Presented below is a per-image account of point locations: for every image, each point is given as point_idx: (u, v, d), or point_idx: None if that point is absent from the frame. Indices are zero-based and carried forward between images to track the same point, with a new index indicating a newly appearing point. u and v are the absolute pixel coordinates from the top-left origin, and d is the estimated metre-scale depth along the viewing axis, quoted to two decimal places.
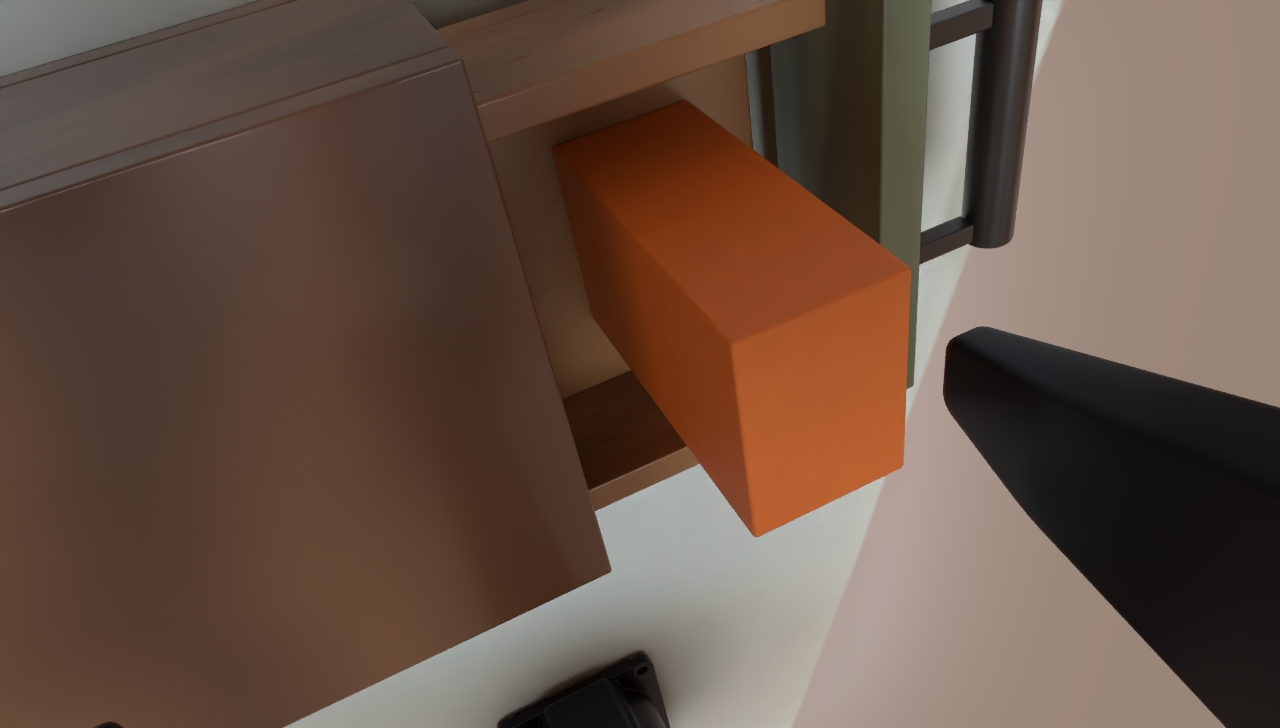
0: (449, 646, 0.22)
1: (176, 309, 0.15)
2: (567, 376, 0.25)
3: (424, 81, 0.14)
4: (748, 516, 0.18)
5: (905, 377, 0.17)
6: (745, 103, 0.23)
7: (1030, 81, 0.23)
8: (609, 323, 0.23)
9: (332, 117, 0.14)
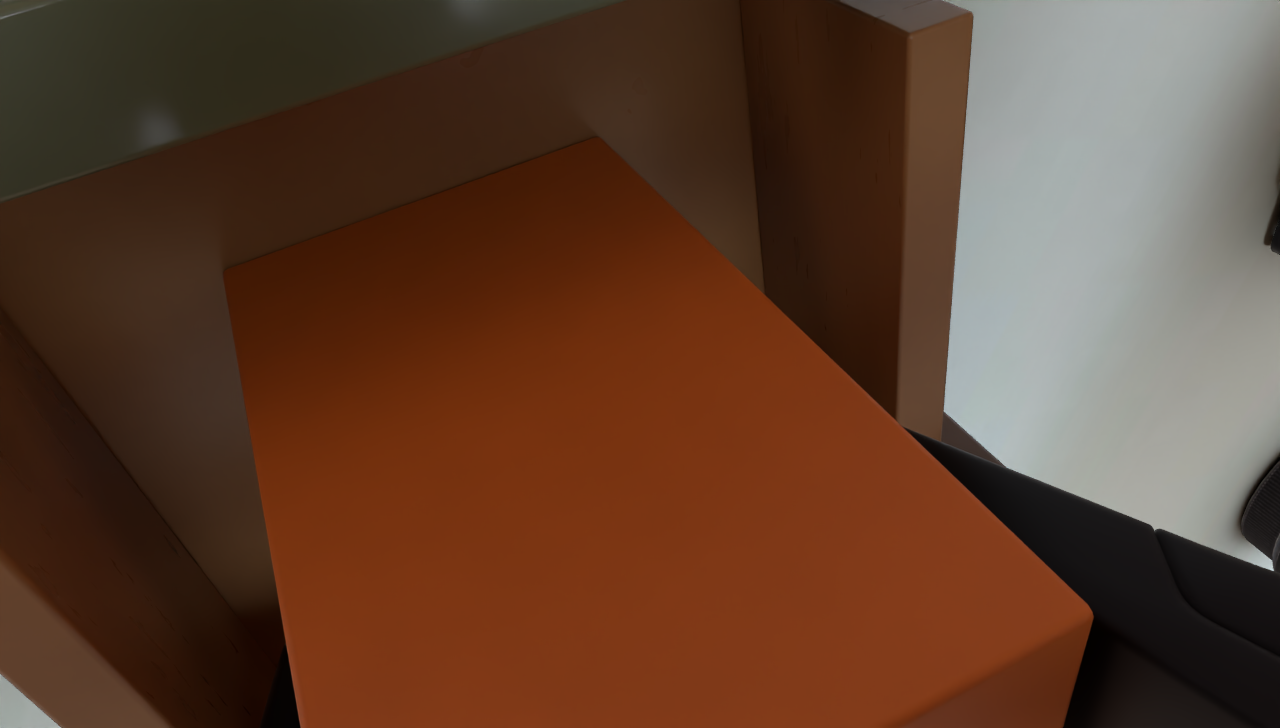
0: None
1: None
2: None
3: None
4: None
5: None
6: (216, 135, 0.10)
7: None
8: None
9: None
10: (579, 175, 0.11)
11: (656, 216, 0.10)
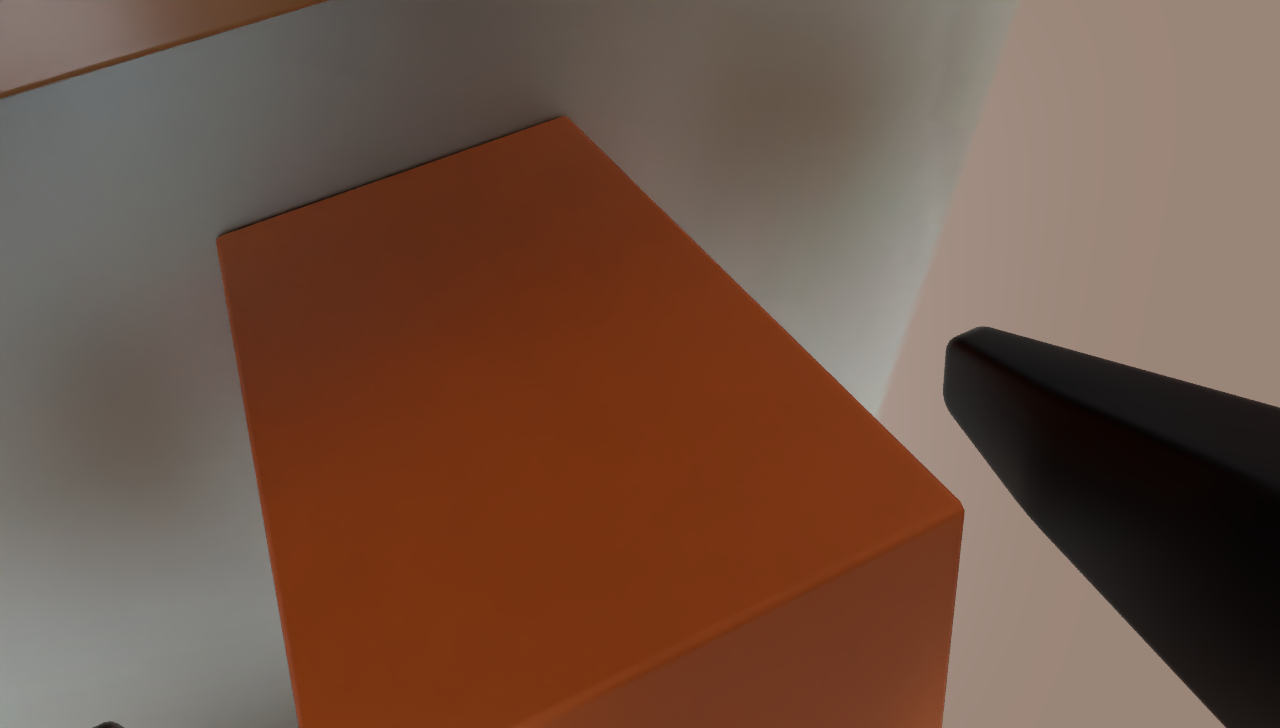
0: None
1: None
2: None
3: None
4: None
5: (670, 660, 0.06)
6: None
7: None
8: None
9: None
10: (545, 150, 0.12)
11: (613, 186, 0.11)
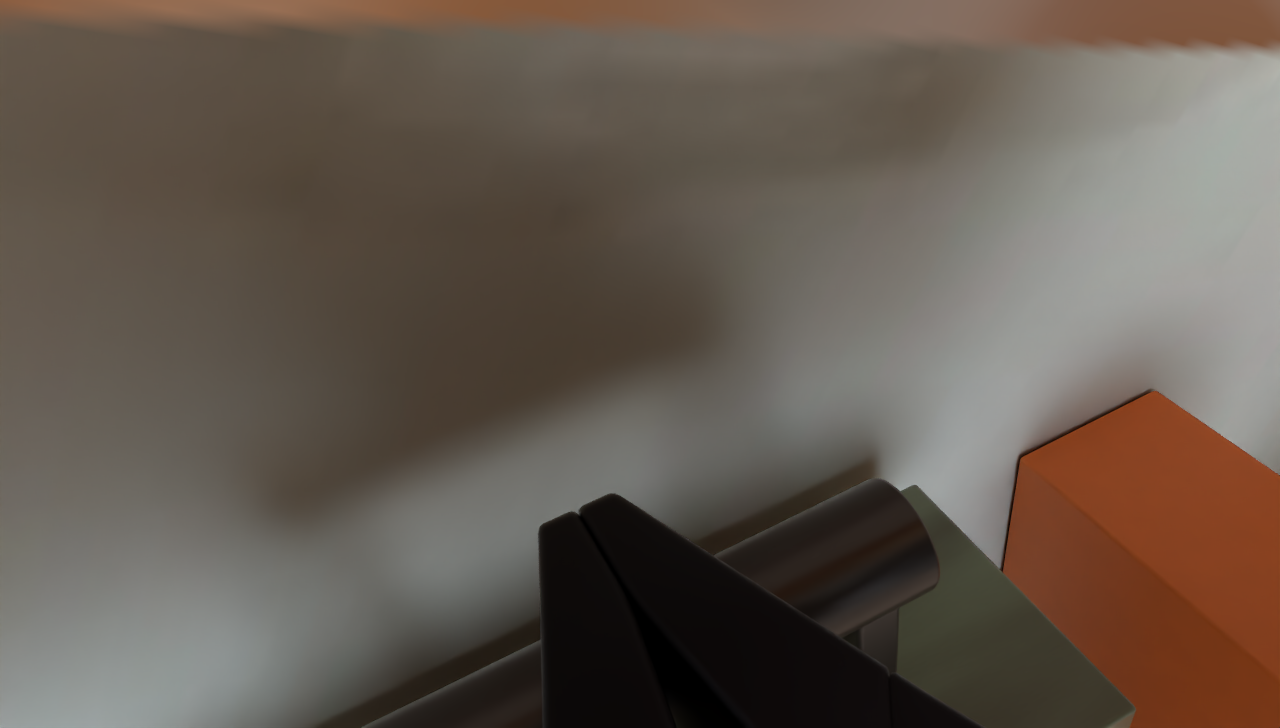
0: None
1: None
2: None
3: None
4: None
5: None
6: None
7: None
8: None
9: None
10: (1046, 506, 0.18)
11: (1110, 547, 0.17)
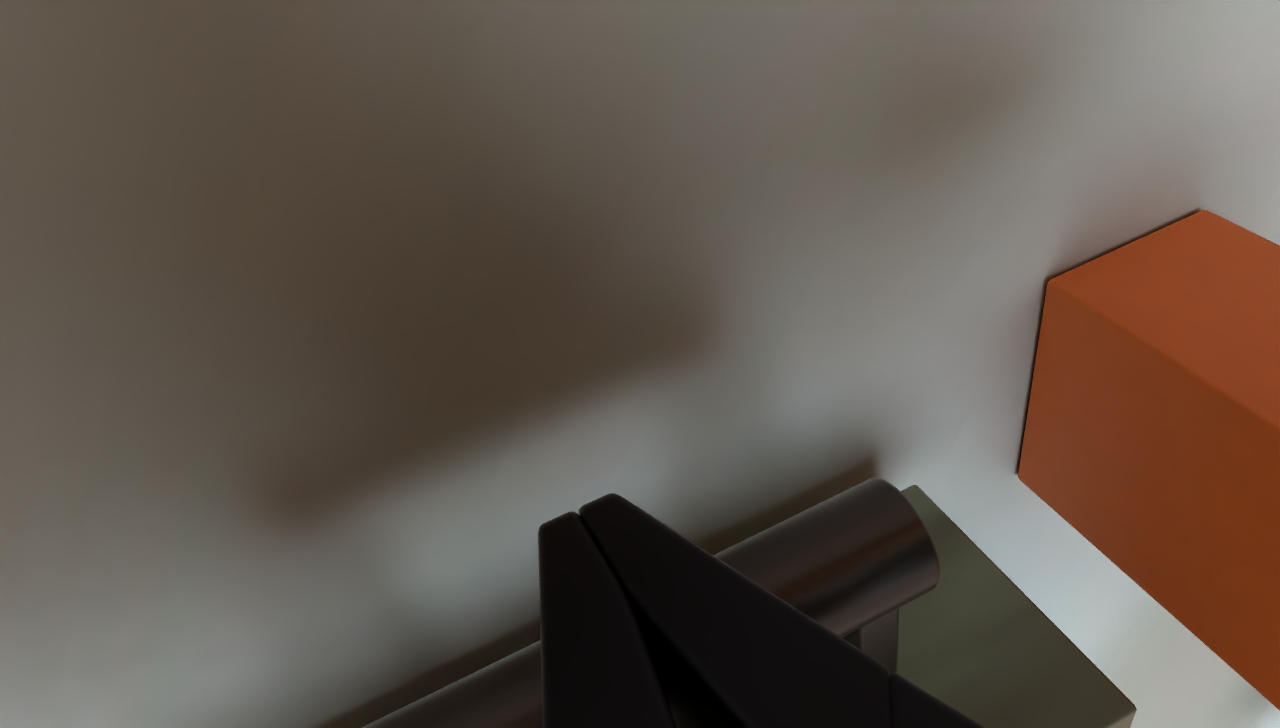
0: None
1: None
2: None
3: None
4: None
5: None
6: None
7: None
8: None
9: None
10: (1079, 335, 0.15)
11: (1158, 368, 0.14)
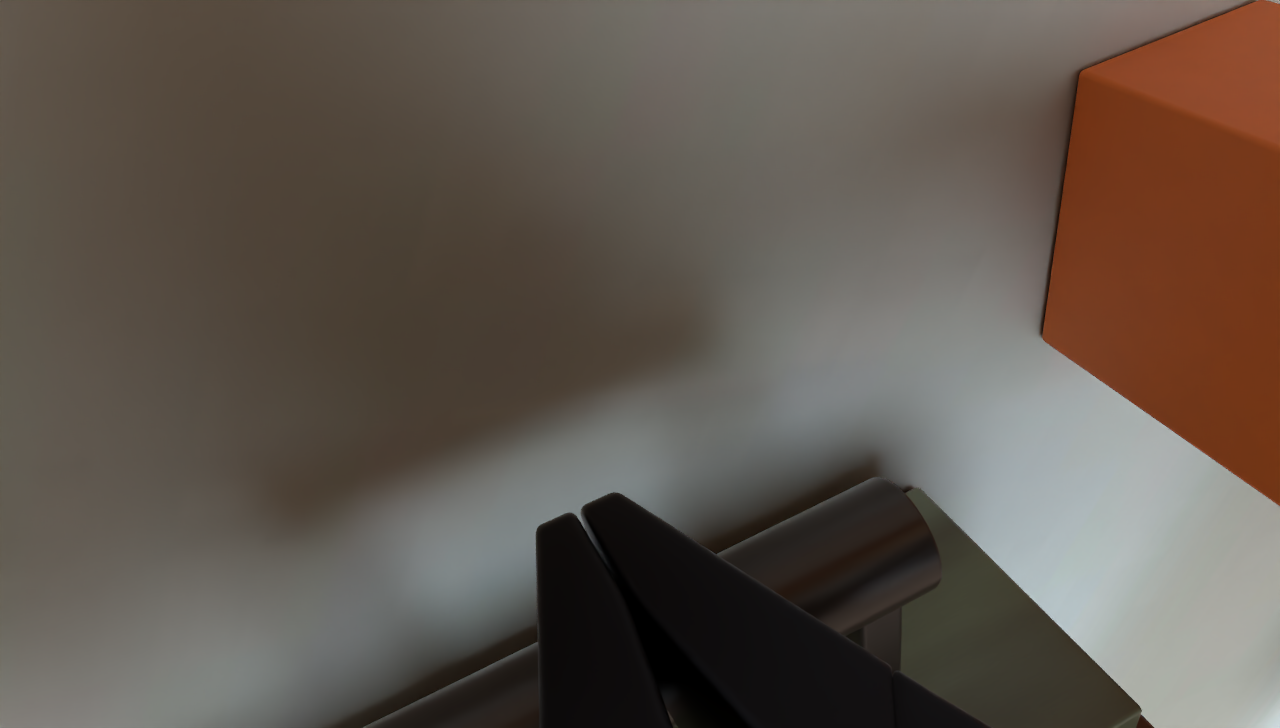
0: None
1: None
2: None
3: None
4: None
5: None
6: None
7: None
8: None
9: None
10: (1118, 132, 0.13)
11: (1217, 147, 0.12)
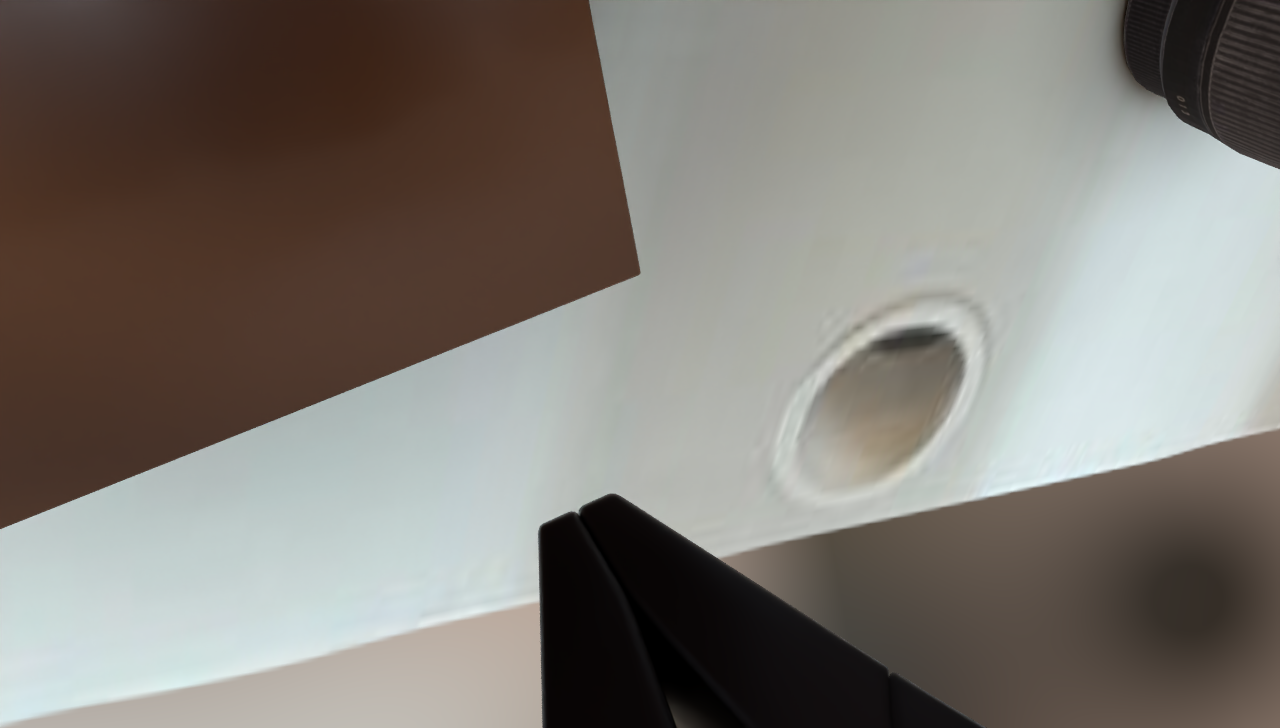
0: None
1: None
2: None
3: None
4: None
5: None
6: None
7: None
8: None
9: None
10: None
11: None
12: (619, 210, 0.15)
